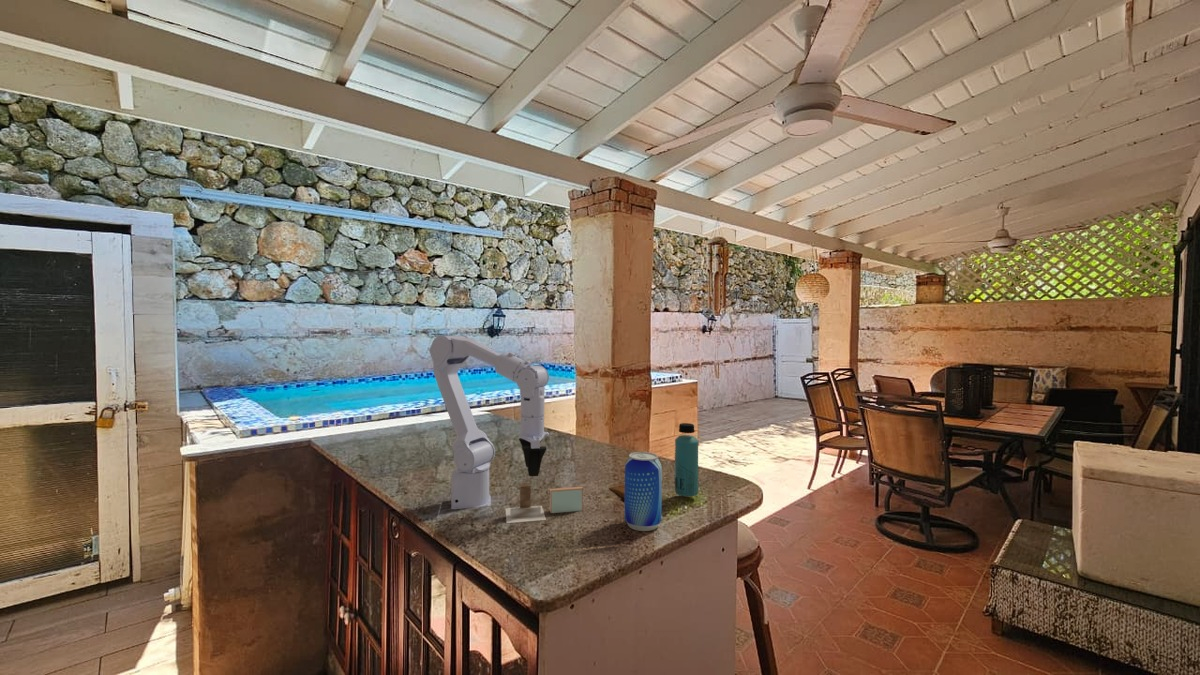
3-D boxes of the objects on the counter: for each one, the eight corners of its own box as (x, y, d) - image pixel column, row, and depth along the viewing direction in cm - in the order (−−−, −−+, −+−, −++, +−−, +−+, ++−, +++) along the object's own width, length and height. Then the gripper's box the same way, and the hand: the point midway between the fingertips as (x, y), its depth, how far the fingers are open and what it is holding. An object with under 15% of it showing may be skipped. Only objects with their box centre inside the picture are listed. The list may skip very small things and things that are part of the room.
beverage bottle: (702, 496, 125) (702, 423, 125) (693, 504, 119) (694, 427, 119) (679, 492, 128) (680, 420, 128) (669, 499, 123) (670, 424, 123)
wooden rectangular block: (510, 518, 108) (510, 488, 108) (510, 513, 111) (510, 484, 111) (540, 515, 110) (540, 486, 110) (539, 510, 113) (539, 482, 113)
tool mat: (506, 525, 105) (506, 523, 105) (505, 510, 114) (505, 508, 114) (546, 521, 108) (546, 519, 108) (541, 507, 116) (541, 505, 116)
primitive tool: (608, 489, 132) (608, 477, 132) (625, 487, 134) (625, 475, 134) (636, 514, 114) (636, 499, 114) (656, 511, 116) (656, 497, 116)
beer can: (664, 520, 109) (665, 452, 109) (657, 535, 101) (657, 461, 101) (630, 515, 112) (630, 449, 111) (620, 529, 104) (620, 458, 103)
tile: (550, 515, 112) (550, 490, 111) (549, 513, 113) (549, 488, 113) (582, 512, 113) (583, 488, 113) (581, 510, 115) (581, 486, 115)
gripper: (553, 420, 106) (552, 479, 106) (545, 410, 120) (544, 462, 120) (522, 421, 104) (521, 481, 105) (517, 410, 119) (517, 463, 119)
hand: (531, 471), depth 112 cm, fingers open, 7 cm apart
